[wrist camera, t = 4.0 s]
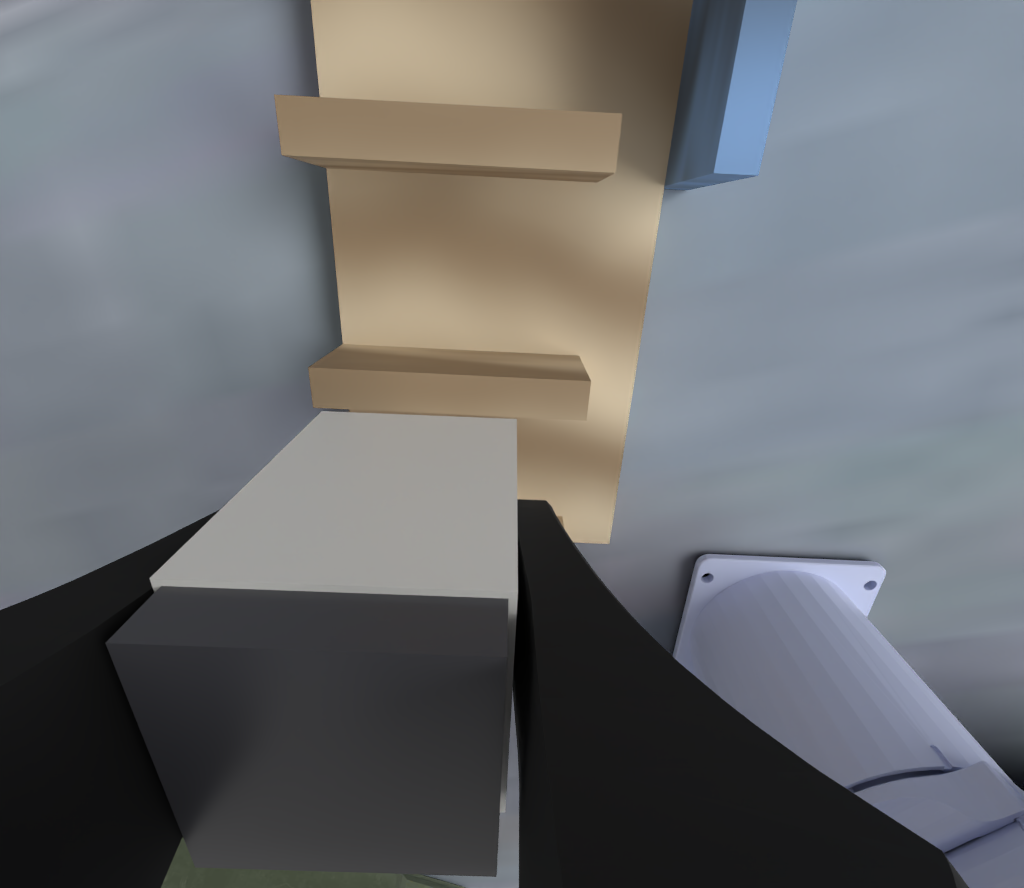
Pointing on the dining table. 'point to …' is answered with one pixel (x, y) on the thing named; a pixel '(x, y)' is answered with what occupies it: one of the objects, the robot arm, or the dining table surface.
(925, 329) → the dining table surface
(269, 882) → the handheld radio
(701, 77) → the cable comb
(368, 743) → the grey rectangular block
